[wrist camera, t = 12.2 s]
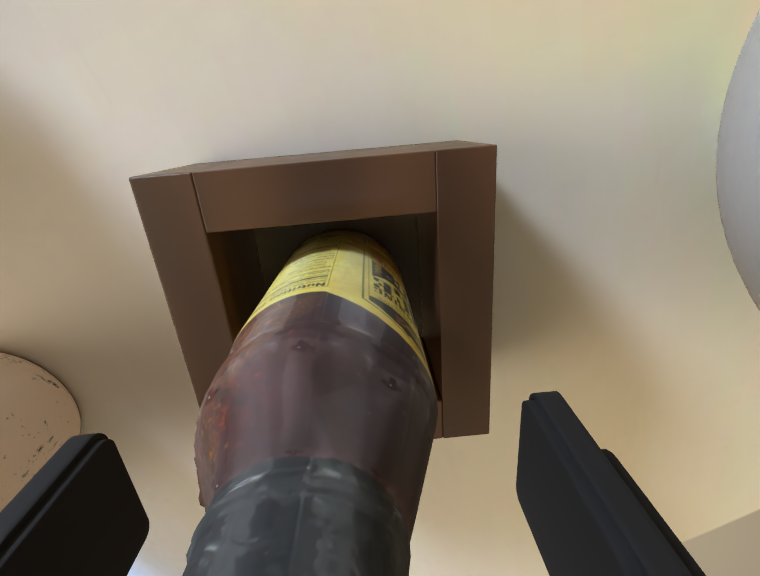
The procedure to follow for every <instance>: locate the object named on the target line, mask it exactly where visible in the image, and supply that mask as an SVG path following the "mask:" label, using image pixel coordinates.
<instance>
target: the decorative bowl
mask: <svg viewBox="0 0 760 576" xmlns="http://www.w3.org/2000/svg"><path fill="white" fill-rule="evenodd" d="M716 180H717V195H718V202H719V208H720V215H721V220H722V224H723V228H724V232H725V236H726V240H727V243H728V246H729V249H730V252H731V254H732V257H733V260H734V262H735V265H736V267H737V270H738V272H739V274H740V276H741V278H742V280H743V282H744V284H745V286H746V288H747V290H748V292H749V294H750V296H751V297H752V299H753V301H754V303H755V304H756V306H757V307H758V309H759V310H760V9H759V11H758V13H757V15H756V17H755V19H754V22H753V24H752V26H751V28H750V31H749V33H748V35H747V38H746V40H745V42H744V44H743V47H742V49H741V52H740V55H739V57H738V60H737V63H736V66H735V68H734V71H733V74H732V78H731V81H730V84H729V88H728V91H727V94H726V99H725V103H724V107H723V112H722V116H721V122H720V128H719V135H718V145H717V161H716Z"/></svg>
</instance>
